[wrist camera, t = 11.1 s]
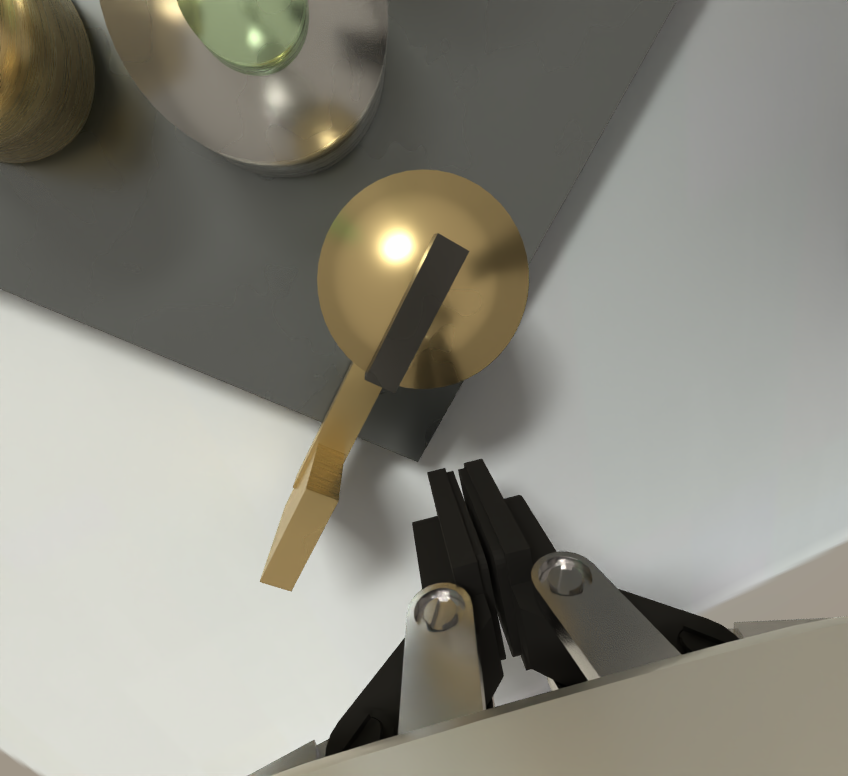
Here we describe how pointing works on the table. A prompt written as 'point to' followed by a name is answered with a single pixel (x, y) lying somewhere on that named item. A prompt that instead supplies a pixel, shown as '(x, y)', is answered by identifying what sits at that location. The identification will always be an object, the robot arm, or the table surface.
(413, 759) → the robot arm
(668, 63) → the table surface
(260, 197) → the levelling plate
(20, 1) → the foot screw
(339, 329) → the foot screw
